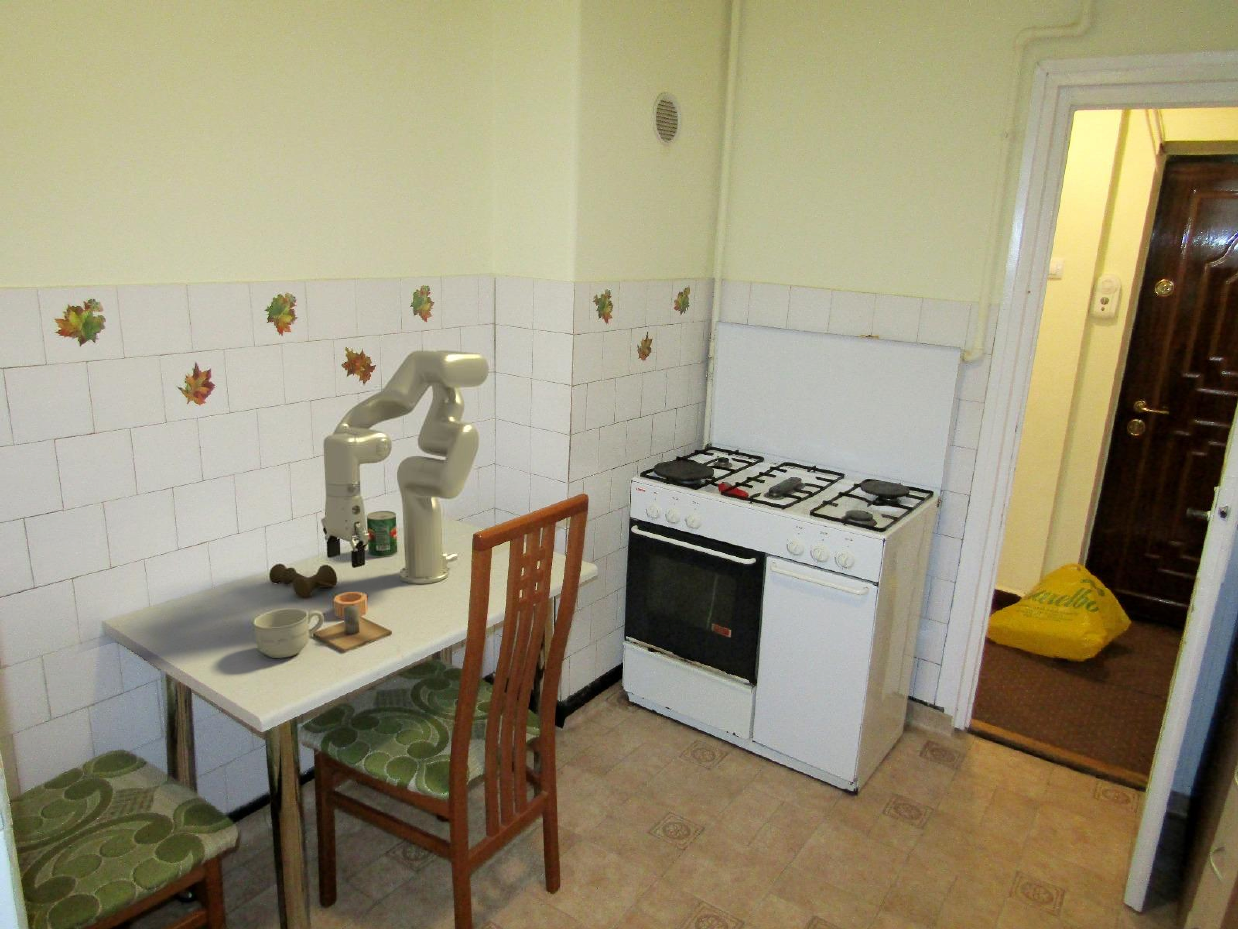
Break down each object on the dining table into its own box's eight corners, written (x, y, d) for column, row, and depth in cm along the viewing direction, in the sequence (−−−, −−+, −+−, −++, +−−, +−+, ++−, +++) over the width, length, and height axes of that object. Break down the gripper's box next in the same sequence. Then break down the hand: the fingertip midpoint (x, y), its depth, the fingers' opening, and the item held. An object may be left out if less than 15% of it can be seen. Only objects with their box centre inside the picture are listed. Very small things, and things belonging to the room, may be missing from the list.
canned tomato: (363, 552, 246) (361, 514, 243) (388, 546, 251) (387, 508, 248) (377, 559, 240) (375, 521, 237) (403, 553, 245) (401, 515, 243)
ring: (355, 603, 211) (354, 589, 210) (372, 611, 207) (372, 597, 206) (329, 612, 206) (328, 598, 205) (346, 620, 202) (345, 606, 201)
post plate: (360, 619, 203) (358, 593, 201) (391, 634, 195) (390, 607, 194) (313, 636, 194) (311, 609, 192) (344, 652, 186) (342, 624, 185)
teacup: (257, 667, 180) (254, 631, 178) (255, 645, 189) (252, 610, 187) (328, 655, 185) (326, 620, 183) (323, 634, 195) (321, 601, 193)
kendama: (292, 577, 228) (349, 590, 219) (261, 591, 220) (320, 605, 211) (289, 555, 227) (347, 568, 217) (258, 568, 219) (317, 581, 209)
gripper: (380, 493, 196) (382, 566, 200) (335, 479, 207) (338, 549, 211) (350, 499, 191) (353, 574, 195) (306, 485, 202) (310, 556, 205)
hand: (346, 561), depth 203 cm, fingers open, 9 cm apart
